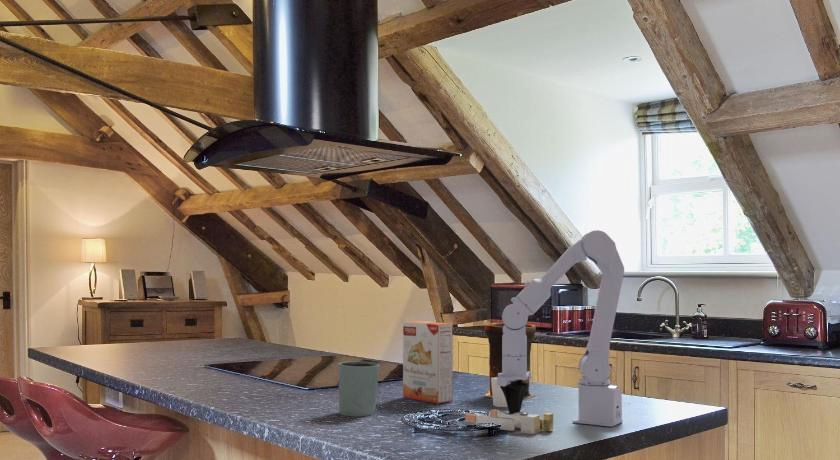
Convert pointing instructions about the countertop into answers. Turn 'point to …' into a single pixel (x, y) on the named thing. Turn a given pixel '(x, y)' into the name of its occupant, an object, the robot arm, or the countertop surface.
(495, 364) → the vessel
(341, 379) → the green cup
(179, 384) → the countertop surface
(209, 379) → the countertop surface
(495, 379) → the white tapered cup
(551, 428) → the lock bolt
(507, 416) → the bar
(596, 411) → the robot arm
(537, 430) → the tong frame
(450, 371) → the cracker box
